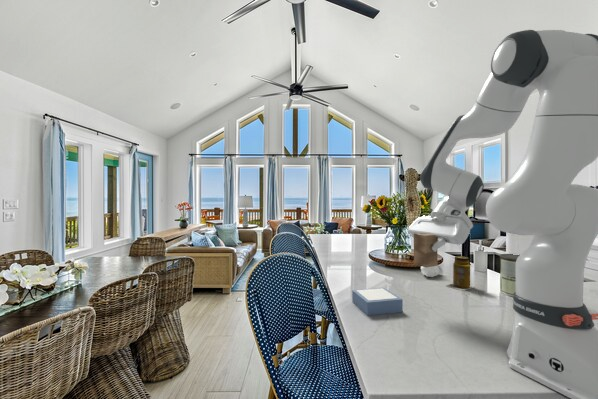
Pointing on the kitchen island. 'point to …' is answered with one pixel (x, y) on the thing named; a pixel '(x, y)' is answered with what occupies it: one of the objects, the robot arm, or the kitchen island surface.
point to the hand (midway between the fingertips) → (423, 248)
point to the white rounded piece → (430, 271)
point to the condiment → (461, 273)
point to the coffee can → (508, 274)
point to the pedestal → (377, 301)
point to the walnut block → (424, 250)
